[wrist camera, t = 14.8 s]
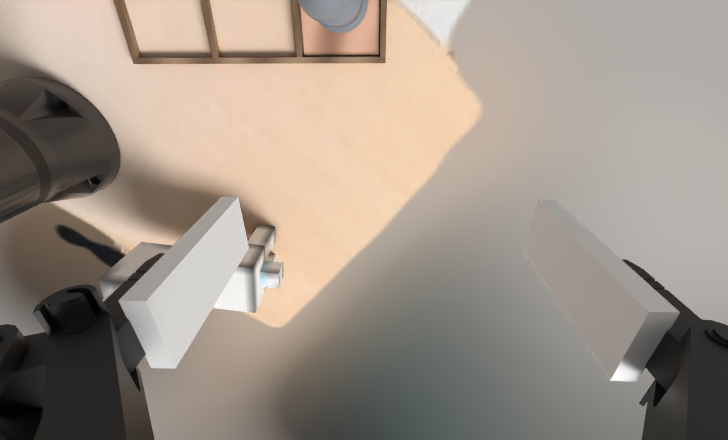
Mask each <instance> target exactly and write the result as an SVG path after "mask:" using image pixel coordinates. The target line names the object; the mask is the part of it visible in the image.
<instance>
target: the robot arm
mask: <svg viewBox="0 0 728 440" xmlns="http://www.w3.org/2000/svg"><path fill="white" fill-rule="evenodd" d="M119 167H120V152H119V147H118V143H117V140H116V138H115V135H114V133H113V131H112V129H111V128H110V126H109V124H108V123H107V121H106V120H105V119H104V117H103V116H102V115H101V114H100V112H99V111H98V110H97V109H96V108H95V107H94V106H93V105H92V104H91V103H90V102H89V101H87V100H86V99H85V98H84V97H82V96H81V95H80V94H78V93H77V92H75V91H74V90H72V89H70V88H68V87H66V86H64V85H62V84H60V83H57V82H55V81H52V80H48V79H43V78H36V77H29V78H19V79H11V80H6V81H2V82H0V223H2V222H4V221H6V220H8V219H10V218H12V217H14V216H16V215H18V214H20V213H22V212H24V211H26V210H28V209H30V208H32V207H34V206H37V205H38V204H41V203H46V202H53V201H60V200H67V199H74V198H81V197H85V196H88V195H91V194H93V193H95V192H97V191H99V190H101V189H103V188H105V187H106V186H108V185H109V184H110V183H111V182H112V181H113V180H114V179H115V177H116V176H117V173H118V171H119ZM248 249H249V245H248V241H247V236H246V231H245V227H244V222H243V217H242V212H241V208H240V203H239V198H238V197H220V198H219V199H218V200H217V202H216V203H215V204H214V205H213V206H212V207H211V208H210V209H209V210H208V211H207V212H206V213H205V214H204V215H203V216H202V217H201V218H200V219H199V220H198V221H197V222H196V223H195V224H194V225H193V226H192V227H191V228H190V229H189V230H188V231H187V232H186V233H185V234H184V235H183V236H182V237H181V238H180V239H179V240H178V241H177V242H176V243H175V244H174V245H173V246H172V247H171V248H170V249H169V250H168V251H167V252H166V253H159V254H157V255H156V256H154V257H152V258H150V259H149V260H147V261H145V262H144V263H143V264H142V265H141V266H140V267H139V268H138V269H137V270H136V273H133V274H132V275H131V276H130V277H129V278H128V280H127V281H125V282H124V283H123V284H121V285H120V286H119V287H118V288H117V289H116V290H115V291H114V292H113V293H112V294H111V295H110V296H109V297H108V298H107V299H106V300H105V301H104V302H103V300H102V298H101V297H100V294H99V293H98V291H97V289H96V288H95V287H94V286H91V285H77V286H73V287H69V288H65V289H63V290H60V291H58V292H56V293H54V294H52V295H50V296H49V297H47V298H45V299H44V300H42V301H41V302H40V303H39V304H38V305H37V306H36V307H35V309H34V311H33V314H34V315H35V317H36V318H37V320H38V321H39V323H40V324H41V326H42V327H43V329H44V330H45V332H44V333H39V334H34V335H29V336H23V335H22V333H21V332H20V331H19V329H18V328H17V327H16V326H15V325H9V324H6V325H0V440H154V435H153V431H152V426H151V421H150V416H149V411H148V407H147V402H146V398H145V392H144V387H143V383H142V378H141V373H140V371H139V369H138V368H137V365H138V364H139V362H140V361H141V360H142V358H143V357H144V356H146V358H147V360H148V362H149V364H150V366H151V368H176V367H177V365H178V363H179V362H180V360H181V359H182V357H183V355H184V354H185V352H186V350H187V349H188V347H189V346H190V344H191V342H192V341H193V339H194V337H195V336H196V334H197V332H198V331H199V329H200V328H201V326H202V324H203V323H204V321H205V319H206V318H207V316H208V314H209V313H210V311H211V310H212V308H213V306H214V305H215V303H216V301H217V300H218V298H219V297H220V295H221V293H222V292H223V290H224V288H225V287H226V285H227V284H228V282H229V280H230V279H231V277H232V275H233V274H234V272H235V270H236V269H237V267H238V266H239V264H240V262H241V261H242V259H243V257H244V256H245V254H246V253H247V251H248ZM523 254H524V255H525V256H526V258H527V259H528V261H529V262H530V264H531V265H532V267H533V268H534V270H535V271H536V272H537V274H538V276H539V277H540V278H541V280H542V281H543V283H544V284H545V286H546V287H547V289H548V290H549V292H550V293H551V295H552V296H553V297H554V299H555V300H556V302H557V303H558V305H559V306H560V308H561V309H562V311H563V312H564V314H565V315H566V316H567V318H568V320H569V321H570V322H571V324H572V325H573V327H574V328H575V330H576V331H577V333H578V334H579V336H580V337H581V339H582V340H583V342H584V343H585V344H586V346H587V347H588V349H589V350H590V352H591V353H592V355H593V356H594V358H595V359H596V361H597V362H598V364H599V365H600V366H601V368H602V369H603V371H604V372H605V374H606V375H607V376H608V378H609V380H610V381H637V380H638V379H639V377H640V376H641V374H642V372H643V371H644V369H645V368H647V369H648V371H649V372H650V373H651V374H652V375H653V377H654V378H655V380H654V382H653V383H652V385H651V386H650V388H649V389H648V391H647V392H646V394H645V395H644V397H643V398H642V400H641V401H640V403H639V404H641V405H643V406H644V405H645V404H646V402H648V403H647V409H646V415H645V422H644V429H643V435H642V440H728V326H727V325H725V324H722V323H718V322H715V321H712V320H701V319H700V318H699V317H698V316H697V315H695V314H694V313H693V312H692V311H691V310H690V309H689V308H687V307H686V306H685V305H684V304H683V303H682V302H680V301H679V300H678V299H677V298H676V297H675V296H674V295H672V294H671V293H670V292H669V291H668V290H665V289H664V287H663V286H662V285H661V284H660V283H658V282H657V281H655V280H654V278H653V277H652V276H650V275H649V274H648V273H647V272H646V271H645V270H643V269H642V268H640V267H639V266H637V265H635V264H633V263H631V262H629V261H628V260H621V259H620V258H619V257H618V256H617V255H616V254H615V253H614V252H613V251H611V250H610V249H609V248H608V247H607V246H606V245H605V244H604V243H603V242H601V241H600V240H599V239H598V238H597V237H596V236H595V235H593V233H591V232H590V231H589V230H588V229H587V228H586V227H585V226H584V225H583V224H581V223H580V222H579V221H578V220H577V219H576V218H575V217H574V216H573V215H572V214H570V213H569V212H568V211H567V210H566V209H565V208H564V207H563V206H562V205H560V204H559V203H558V202H557V201H556V200H537V203H536V206H535V210H534V214H533V217H532V221H531V224H530V228H529V232H528V236H527V239H526V242H525V246H524V250H523Z"/></svg>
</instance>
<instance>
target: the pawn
mask: <svg viewBox="0 0 728 440" xmlns="http://www.w3.org/2000/svg"><path fill="white" fill-rule="evenodd" d="M297 1H298V3H299V5H300V6H301V7H302V8H303V10H304V11H305V12H306V14H307V15H309V16H310V17H311V18H312V19H314V20H315V21H317V22H319V23H320V24H321V25H322V26H323V27H324V28H326V29H327V30H329V31H332V32H336V33H345V32H349V31H351V30H353V29H355V28H356V27H357V26H358V25H359V24H360V23H361V21H362V20H363V18H364V16H365V14H366V11H367V7H368V0H297Z"/></svg>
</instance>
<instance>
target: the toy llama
mask: <svg viewBox="0 0 728 440" xmlns="http://www.w3.org/2000/svg"><path fill="white" fill-rule="evenodd" d="M274 243H275V227H270V226H262V225H258V226H257V228H256V230H255V231H254V233H253V234H252V236H251V237H250V239H249V241H248V245H249V249H248V251H247V253H246V254H245V256H244V257H243V259H242V261H241V262H240V264H239V266H238V267H237V269H236V270H235V272H234V274H233V275H232V277H231V279H230V280H229V282H228V284H227V285H226V287H225V288H224V290H223V292H222V293H221V295H220V297H219V298H218V300H217V301H216V303H215V305H214V306H213V308H218V309H227V310H235V311H243V312H252V313H255V312H256V310H257V307H258V305H259V303H260V301H261V298H262V296H263V294H264V292H265V289H266V287H272V288H279V286H280V284H281V281H282V279H283V263H281V262H275V254H269V253H270V251H271V249H272V247H273V245H274ZM171 247H172V246H171V245H163V244H155V243H147V242H141V243H140V244H139V245H137V246H136V247H135V248H134V249H133V250H132V251H131V252H129V253H128V254H127V255H126V256H125V257H124V258H122V259H121V260H120V261H119V262H118V263H117V264H115V265H114V266H113V267H112V268H111V269H110V270H108V271H107V272H106V273H105V274H104V275H103V276H101V277H100V278H99V279H98V282H99V285H100V288H101V291H102V293H103V296H104V299H103V302H104V301H105V300H106V299H107V298H108V297H109V296H110V295H111V294H112V293H113V292H114V291H115V290H116V289H117V288H118V287H119V286H120V285H121V284H123V283H124V282H125V281H127V280H128V278H129V277H130V276H131V275H132V274H133V273H136V270H137V269H138V268H139V267H140V266H141V265H142V264H143V263H144V262H145V261H147V260H149V259H150V258H152V257H154V256H156V255H157V254H159V253H166V252H167V251H168V250H169V249H170V248H171Z"/></svg>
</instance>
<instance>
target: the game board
mask: <svg viewBox="0 0 728 440" xmlns="http://www.w3.org/2000/svg"><path fill="white" fill-rule="evenodd" d="M291 2H292V12H293V23H294V34H295V44H296V55H297V57H220V52H219V47H218V42H217V37H216V32H215V27H214V22H213V16H212V11H211V6H210V1H209V0H201V5H202V10H203V15H204V20H205V25H206V29H207V34H208V39H209V44H210V49H211V54H212V57H202V58H141V55H140V51H139V48H138V45H137V41H136V38H135V35H134V31H133V28H132V25H131V21H130V18H129V15H128V11H127V8H126V5H125V2H124V0H114V3H115V6H116V9H117V12H118V15H119V19H120V22H121V25H122V28H123V31H124V35H125V38H126V41H127V44H128V47H129V50H130V54H131V57H132V60H133V63H134V64H245V63H385V53H386V11H387V0H381V25H380V57H303V46H302V34H301V23H300V11H299V3H298V1H297V0H291ZM300 9H301V21H302V32H303V44H304V55H378V50H379V0H368V7H367V11H366V14H365V16H364V18H363V20H362V21H361V23H360V24H359V25H358V26H357V27H356V28H355V29H353V30H351V31H349V32H345V33H336V32H332V31H329V30H327V29H326V28H324V27H323V26H322V25H321V24H320V23H319V22H317V21H315V20H314V19H312V18H311V17H310V16H309V15H307V14H306V12H305V11H304V10H303V8H302V7H301V6H300Z"/></svg>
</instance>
